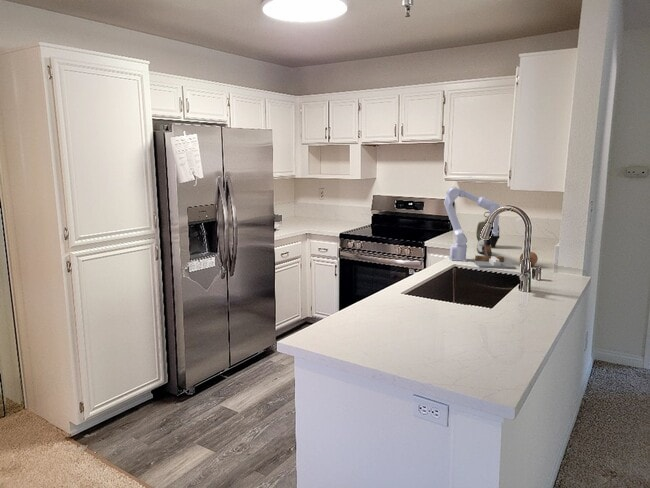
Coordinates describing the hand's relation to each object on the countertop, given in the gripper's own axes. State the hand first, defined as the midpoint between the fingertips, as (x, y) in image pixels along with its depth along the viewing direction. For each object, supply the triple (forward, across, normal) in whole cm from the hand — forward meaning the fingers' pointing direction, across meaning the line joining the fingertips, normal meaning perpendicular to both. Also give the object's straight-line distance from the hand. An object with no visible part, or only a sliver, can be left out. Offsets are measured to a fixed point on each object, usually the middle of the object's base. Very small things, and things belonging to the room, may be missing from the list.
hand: (491, 246), depth 281 cm
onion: (+10, -8, -19) cm, 23 cm away
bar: (+10, 0, 0) cm, 10 cm away
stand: (+9, -12, +1) cm, 15 cm away
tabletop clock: (+10, +51, -12) cm, 53 cm away
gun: (+10, +18, -2) cm, 20 cm away
